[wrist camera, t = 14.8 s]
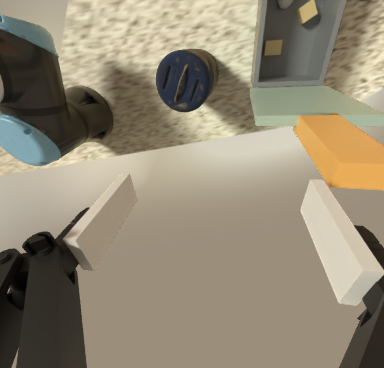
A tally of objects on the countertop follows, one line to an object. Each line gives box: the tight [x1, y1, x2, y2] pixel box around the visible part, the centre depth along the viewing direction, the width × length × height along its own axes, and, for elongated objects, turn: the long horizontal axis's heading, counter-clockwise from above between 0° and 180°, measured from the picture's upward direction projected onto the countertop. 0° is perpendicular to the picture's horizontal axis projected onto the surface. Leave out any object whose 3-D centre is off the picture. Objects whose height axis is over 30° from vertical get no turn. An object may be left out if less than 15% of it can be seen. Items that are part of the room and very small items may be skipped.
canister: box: [156, 49, 218, 112], centre depth 39 cm, size 10×10×18 cm
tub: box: [251, 0, 347, 87], centre depth 35 cm, size 12×18×9 cm, turn 3°
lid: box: [250, 85, 384, 190], centre depth 25 cm, size 13×30×2 cm
